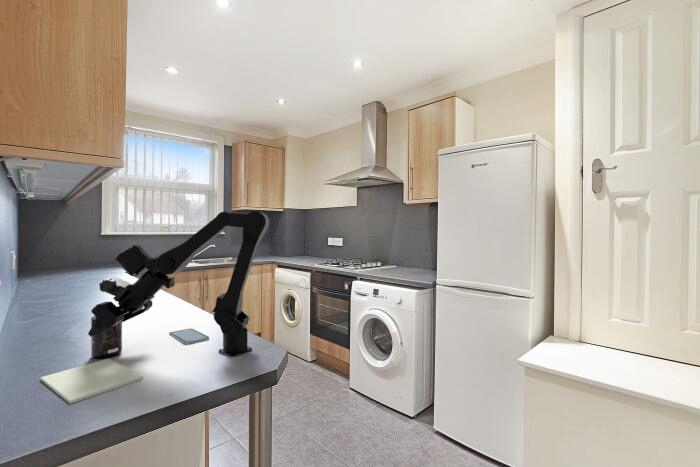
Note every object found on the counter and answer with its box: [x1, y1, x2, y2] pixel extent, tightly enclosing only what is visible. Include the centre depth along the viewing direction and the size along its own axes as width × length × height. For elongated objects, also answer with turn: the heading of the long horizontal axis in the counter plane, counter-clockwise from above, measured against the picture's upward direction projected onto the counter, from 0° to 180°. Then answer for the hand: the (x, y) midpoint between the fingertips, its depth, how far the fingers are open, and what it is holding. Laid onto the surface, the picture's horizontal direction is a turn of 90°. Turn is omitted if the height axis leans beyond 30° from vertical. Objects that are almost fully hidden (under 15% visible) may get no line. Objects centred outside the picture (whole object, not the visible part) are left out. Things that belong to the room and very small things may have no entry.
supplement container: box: [90, 315, 123, 360], centre depth 88 cm, size 7×7×10 cm
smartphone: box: [168, 328, 210, 345], centre depth 104 cm, size 7×1×15 cm
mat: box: [40, 358, 144, 405], centre depth 74 cm, size 18×13×1 cm
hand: (101, 329), depth 88 cm, fingers open, 9 cm apart
